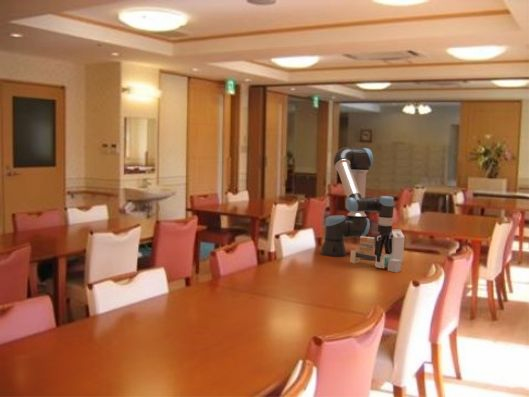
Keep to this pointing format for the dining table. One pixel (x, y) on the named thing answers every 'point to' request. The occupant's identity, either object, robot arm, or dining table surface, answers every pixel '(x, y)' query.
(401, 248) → the milk carton
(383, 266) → the sleeve
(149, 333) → the dining table surface
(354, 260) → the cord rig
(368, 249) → the supplement box
